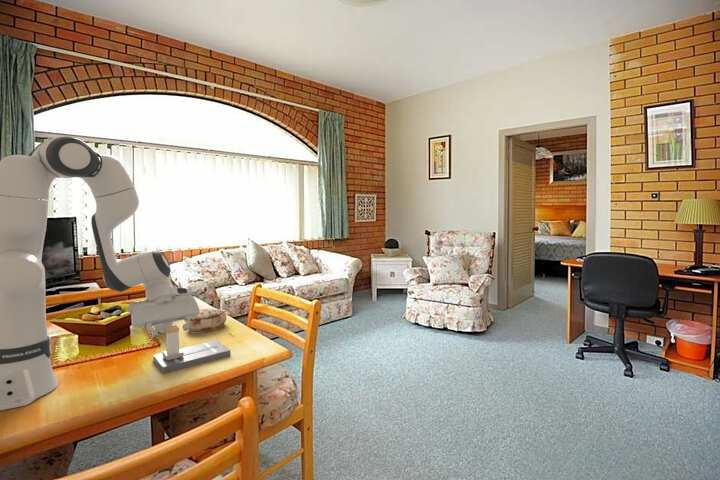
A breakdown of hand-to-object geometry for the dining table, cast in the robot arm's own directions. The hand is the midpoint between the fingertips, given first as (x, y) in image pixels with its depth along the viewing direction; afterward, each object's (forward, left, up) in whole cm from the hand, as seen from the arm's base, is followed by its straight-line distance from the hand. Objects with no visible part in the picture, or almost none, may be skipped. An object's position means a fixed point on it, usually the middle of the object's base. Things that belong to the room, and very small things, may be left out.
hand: (171, 332), depth 121 cm
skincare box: (+6, +33, -10) cm, 35 cm away
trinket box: (+20, +26, -10) cm, 35 cm away
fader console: (+6, -2, -10) cm, 11 cm away
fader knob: (0, -2, -7) cm, 7 cm away
